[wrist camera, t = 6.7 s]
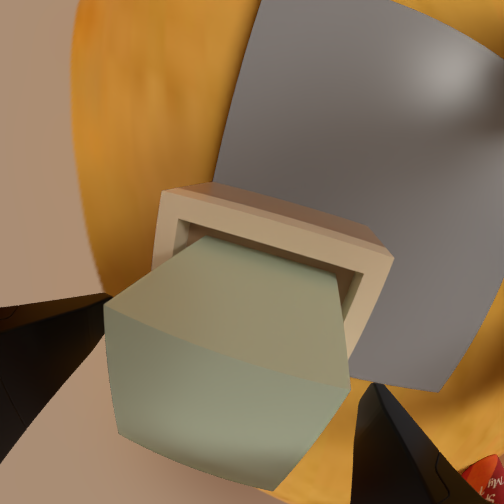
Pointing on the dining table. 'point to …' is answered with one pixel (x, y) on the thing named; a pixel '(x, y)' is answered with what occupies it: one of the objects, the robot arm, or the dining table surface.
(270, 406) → the green block
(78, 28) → the dining table surface
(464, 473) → the paper cup
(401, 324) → the board
